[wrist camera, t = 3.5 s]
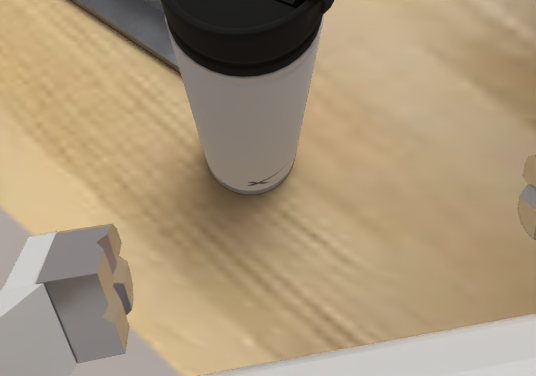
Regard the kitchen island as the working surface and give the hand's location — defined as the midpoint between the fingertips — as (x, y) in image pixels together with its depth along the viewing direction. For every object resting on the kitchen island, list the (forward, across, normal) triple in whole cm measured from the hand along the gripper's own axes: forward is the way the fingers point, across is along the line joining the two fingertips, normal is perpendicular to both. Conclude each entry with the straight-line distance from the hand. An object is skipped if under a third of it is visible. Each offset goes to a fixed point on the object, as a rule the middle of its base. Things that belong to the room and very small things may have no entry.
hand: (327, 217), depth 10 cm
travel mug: (+24, 0, +10) cm, 26 cm away
